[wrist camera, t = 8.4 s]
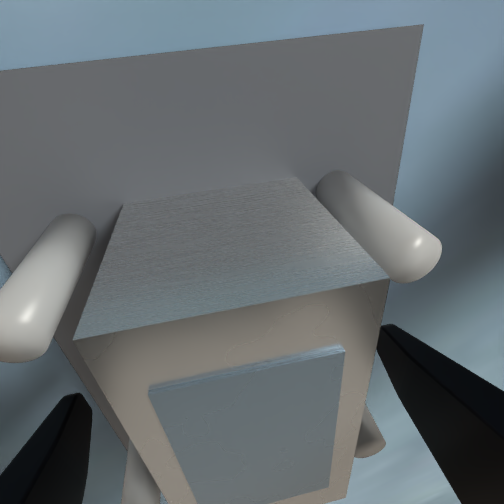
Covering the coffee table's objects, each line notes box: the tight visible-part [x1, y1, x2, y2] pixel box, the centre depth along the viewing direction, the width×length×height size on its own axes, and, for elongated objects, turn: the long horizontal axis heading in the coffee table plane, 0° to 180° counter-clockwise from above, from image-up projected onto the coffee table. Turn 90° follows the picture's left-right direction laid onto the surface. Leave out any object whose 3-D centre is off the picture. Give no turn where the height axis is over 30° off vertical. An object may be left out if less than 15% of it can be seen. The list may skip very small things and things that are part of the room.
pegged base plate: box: [0, 24, 442, 504], centre depth 10 cm, size 12×16×5 cm
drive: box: [73, 177, 390, 504], centre depth 9 cm, size 5×9×5 cm, turn 5°
